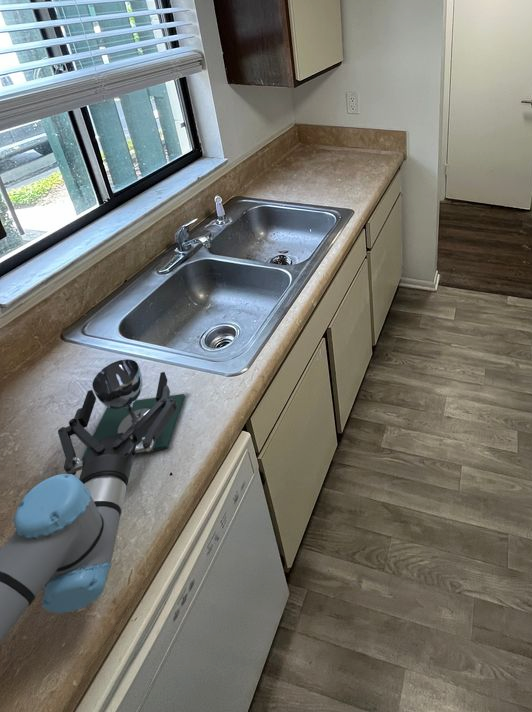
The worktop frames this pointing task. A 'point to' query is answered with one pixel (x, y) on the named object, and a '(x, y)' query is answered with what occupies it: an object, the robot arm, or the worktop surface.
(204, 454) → the worktop surface
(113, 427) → the mat
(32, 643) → the worktop surface
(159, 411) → the robot arm
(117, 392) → the wine glass
